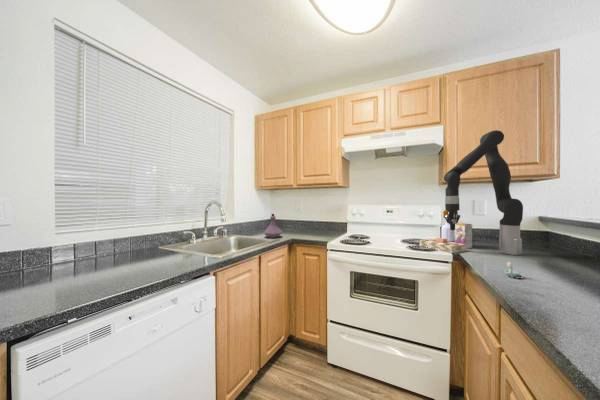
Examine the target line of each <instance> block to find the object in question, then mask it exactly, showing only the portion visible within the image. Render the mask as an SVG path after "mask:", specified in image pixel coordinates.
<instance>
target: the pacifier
mask: <svg viewBox="0 0 600 400" xmlns="http://www.w3.org/2000/svg"><path fill="white" fill-rule="evenodd" d="M506 266H507V268H505V269H504V270H503V272H504V274H505V275H507V276H508V275H509V276H512V277H511V278H513V277H516V278H515V279H518V278H522V279H524V278H523V277H524V276H523V275H522V274H520V273H519V272H518V271H517V270H515V269H513V265H512V263H511V261H508V262H507V263H506ZM509 276H508V277H509ZM520 276H521V277H520Z"/></svg>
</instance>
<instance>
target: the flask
mask: <svg viewBox="0 0 600 400" xmlns="http://www.w3.org/2000/svg"><path fill="white" fill-rule="evenodd" d="M269 219H270V223H269V225H268V227H267V228H266V229H265V230H264V231H263V234H264V235H265V236H266V237H267V238H269V239H274V238H275V239H277V238H279V237H280V236H281V234H282V233H283V230H281V229H280V227H278V225H277V222H276V216H275V214H274V213H271V216H270V217H269Z"/></svg>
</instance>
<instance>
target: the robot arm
mask: <svg viewBox="0 0 600 400" xmlns="http://www.w3.org/2000/svg"><path fill="white" fill-rule="evenodd" d="M504 139H505V134H504V133H503V132H502V131H501V130H496V129H495V130H491V131H489V132H486V133H484V134H483V135H482V136H481V137H480V140H479V145H478V146H476V148H474V149H473V150H471V151H470V152H469V153H468V154H467V155H466V156H464V157H463V158H462V159H461V160H460V161H459V162H457V164H456V165H455V166H453V167H452V168H451V169H449V170H448V171H447V172H446V173H445V174H444V176H443V181H444V182H446V184H447V185H446V188H445V197H444V198H445V199H444V200H445V201H444V203H445V204H444V206H445V209H444V210H447V215H446V216H444V217H445V218H444V219H445V222H446V221H447V223H449V224H450V230H455V224H456V223H458V222H460V218H461V215H460V214H459V211H460V195H459V191H460V190H459V188H460V184H461V176H462V175H463V174H464V173H465V174H466V172H468V171H469V170H470V169H471V168H472V167H473V166H474V165H475V164H476V163H478V161H480V160H481V159H482V158H483V157H484V156H485V161H486V164H487V168H488V172H489V176H490V178H491V183H492V187H493V190H494V193H495V194H494V195H495V201H496V202H495V203H496V207H497V209H498V211H499V212H501V213H503V217H502V218H501V219H500V220H499V237H498V238H499V241H498V242H499V246H498V247H499V251H498V252H499V253H501V254H505V255H511V256H512V255H513V256H521V255H522V254H523V238H521V223H522V221H523V217H524V216H523V214H524V206H523V203H522V201H521V200H520V199H518V198H512V195H511V193H510V192H511V191H510V186H511V185H510V184H511V180H512V176H511V175H512V174H511V170H510V168H509V165H508V163H507V162H506V160H505V159H504V158H503V157H502V155H501V154H500V152H499V148H498V146H499V145H500V144H501V143H503V141H504Z"/></svg>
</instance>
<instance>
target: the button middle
mask: <svg viewBox="0 0 600 400" xmlns="http://www.w3.org/2000/svg"><path fill="white" fill-rule="evenodd" d="M435 239H436V242H439V243H447V239H445V238H441V237H436V238H435Z"/></svg>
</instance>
